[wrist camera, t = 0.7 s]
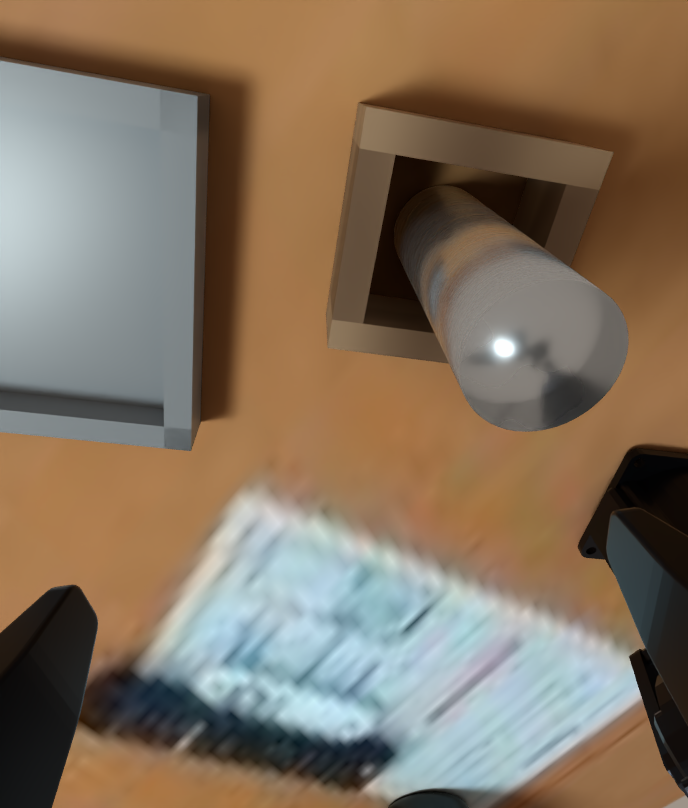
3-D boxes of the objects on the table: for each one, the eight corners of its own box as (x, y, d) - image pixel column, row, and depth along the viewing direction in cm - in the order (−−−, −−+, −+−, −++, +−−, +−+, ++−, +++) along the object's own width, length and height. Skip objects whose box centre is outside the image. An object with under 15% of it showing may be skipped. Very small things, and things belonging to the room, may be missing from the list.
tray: (210, 94, 16) (197, 96, 15) (200, 422, 22) (191, 451, 21) (-152, 29, 15) (-212, 22, 13) (-59, 395, 21) (-91, 422, 19)
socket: (569, 141, 17) (614, 152, 15) (503, 337, 21) (529, 373, 18) (358, 102, 17) (366, 106, 14) (325, 313, 20) (327, 348, 18)
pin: (496, 193, 18) (658, 293, 10) (470, 284, 20) (588, 439, 11) (404, 177, 18) (487, 268, 9) (385, 271, 19) (441, 422, 11)
